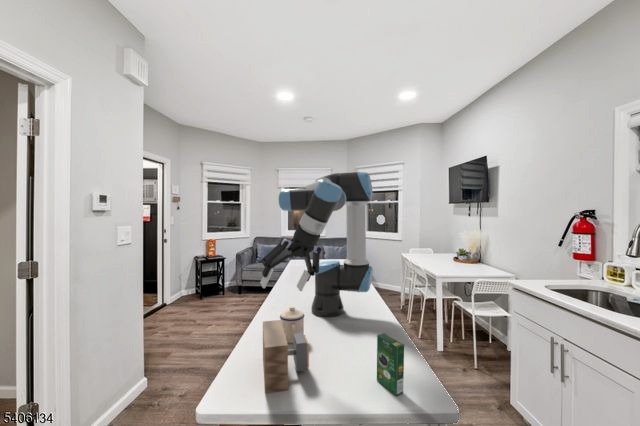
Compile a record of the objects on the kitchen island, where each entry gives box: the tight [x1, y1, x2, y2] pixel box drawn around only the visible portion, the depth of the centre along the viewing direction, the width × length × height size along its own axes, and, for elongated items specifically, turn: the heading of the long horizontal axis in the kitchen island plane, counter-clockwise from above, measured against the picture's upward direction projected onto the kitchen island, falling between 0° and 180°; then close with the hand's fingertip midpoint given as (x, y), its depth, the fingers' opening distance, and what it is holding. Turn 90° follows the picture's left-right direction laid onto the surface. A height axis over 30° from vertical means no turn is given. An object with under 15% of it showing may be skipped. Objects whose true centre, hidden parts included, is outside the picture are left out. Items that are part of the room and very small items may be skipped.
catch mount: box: [262, 319, 289, 394], centre depth 84 cm, size 6×18×12 cm, turn 13°
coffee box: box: [376, 332, 405, 397], centre depth 77 cm, size 8×3×13 cm, turn 29°
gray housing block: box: [288, 333, 310, 372], centre depth 86 cm, size 9×7×8 cm
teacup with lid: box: [279, 306, 305, 344], centre depth 106 cm, size 12×9×12 cm
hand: (281, 287), depth 91 cm, fingers open, 13 cm apart
